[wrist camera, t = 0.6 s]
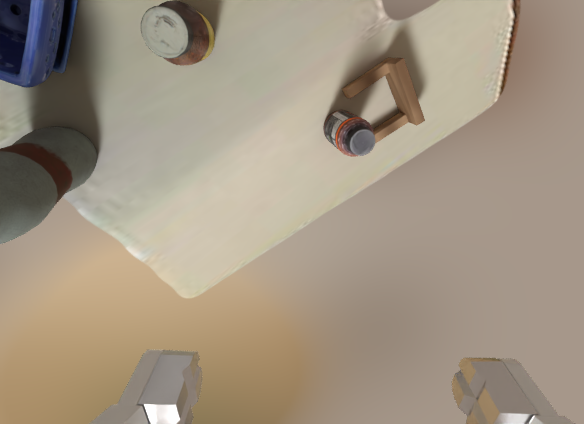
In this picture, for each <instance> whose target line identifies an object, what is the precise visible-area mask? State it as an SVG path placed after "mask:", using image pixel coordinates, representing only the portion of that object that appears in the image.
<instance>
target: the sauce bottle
mask: <svg viewBox="0 0 584 424" xmlns="http://www.w3.org/2000/svg"><path fill="white" fill-rule="evenodd" d="M141 32H142V36H143V39H144V41H145V43H146V45H147V46H148V47H149V49H150V50H151V51H153V52H154V53H155V54H157V55H159V56H161V57H163V58H164V59H166V60H167V61H169V62H171V63H173V64H176V65H192V64H195V63H197V62H199V61H202V60H204V59H205V58H207V57H208V56H209V55H210V53H211V52H212V50H213V47H214V32H213V29H212V27H211V25H210V23H209V21H208V20H207V19H206V18H205V17H204V16H203V15H202V14H201V13H199V12H198V11H197V10H195V9H194V8H193V7H191V6H189V5H188V4H186V3H183V2H180V1H167V2H164V3H162V4H160V5H159V6H154V7H152V8H150V9H148V10H147V11H146V12H145V14H144V16H143V18H142V21H141Z"/></svg>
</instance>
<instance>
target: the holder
mask: <svg viewBox="0 0 584 424" xmlns="http://www.w3.org/2000/svg"><path fill="white" fill-rule="evenodd" d="M383 76H386V79H387V81H388V84H389V86H390V89H391V92H392V94H393V97H394V99H395V102H396V105H397V107H398V110H399V112H400V113H398V114H396V115H395V116H393V117H392V118H390V119H389V120H387V121H386V122H384V123H383V124H381V125H379V126H378V127H376V128H375V129H373V131H374V135H375V143H377V142H378V141H380V140H381V139H383V138H384V137H386V136H387V135H389V134H391V133H392V132H394V131H395V130H397V129H398V128H400V127H401V126H403V125H405V124H406V123H408V122H410V123H412V124H415V125H418V124H420V123H422V122H423V121H425V119H424V116H423V113H422V110H421V107H420V104H419V101H418V99H417V96H416V93H415V90H414V87H413V84H412V81H411V78H410V75H409V72H408V69H407V66H406V63H405V60H404V58H387V59H386V60H384V61H383V62H381V63H380V64H378V65H377V66H375V67H374V68H372V69H371V70H369V71H368V72H366V73H365V74H363V75H362V76H360V77H359V78H357V79H356V80H354V81H353V82H351V83H350V84H348V85H347V86H345V87H344V88H343V89H342V90H343V92H344V94H345V96H346V97H347V98H352V97H353V96H355V95H356V94H358V93H359V92H361V91H362V90H364V89H365V88H367V87H368V86H370V85H371V84H373V83H374V82H376V81H377V80H379V79H380V78H382V77H383Z"/></svg>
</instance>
